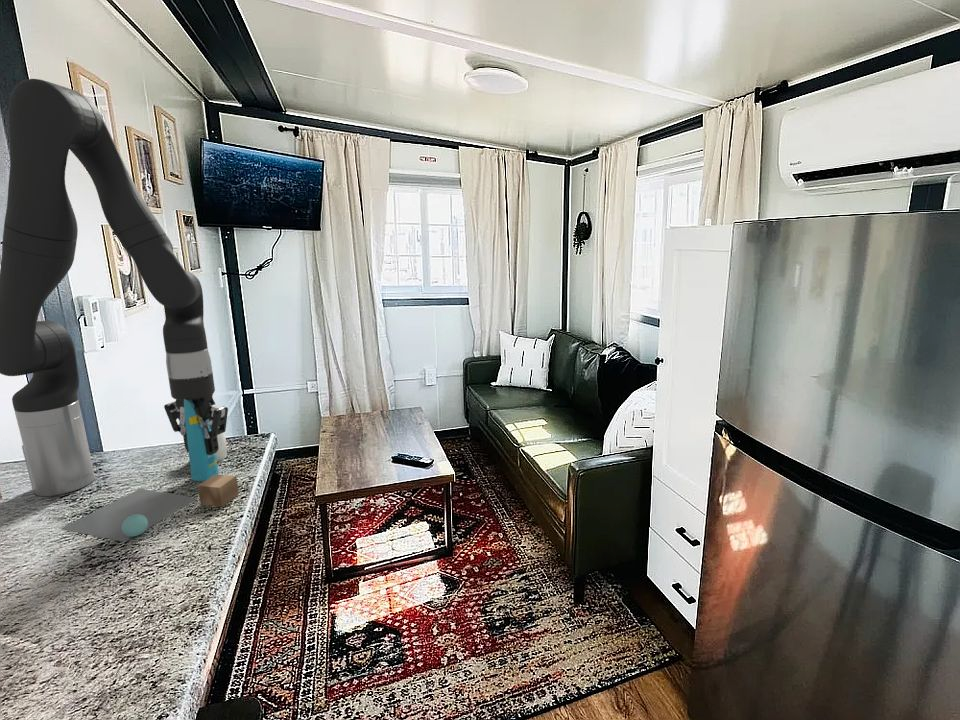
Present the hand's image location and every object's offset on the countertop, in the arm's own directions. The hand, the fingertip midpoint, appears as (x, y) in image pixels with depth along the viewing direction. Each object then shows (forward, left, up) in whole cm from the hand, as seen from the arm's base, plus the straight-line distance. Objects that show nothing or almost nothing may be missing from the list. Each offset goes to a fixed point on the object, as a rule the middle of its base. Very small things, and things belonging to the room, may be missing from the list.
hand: (202, 451), depth 95 cm
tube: (0, 0, -6) cm, 6 cm away
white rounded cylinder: (-7, +8, -6) cm, 12 cm away
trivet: (-1, -15, -6) cm, 16 cm away
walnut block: (+8, -7, -4) cm, 12 cm away
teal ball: (+6, -20, -5) cm, 22 cm away
